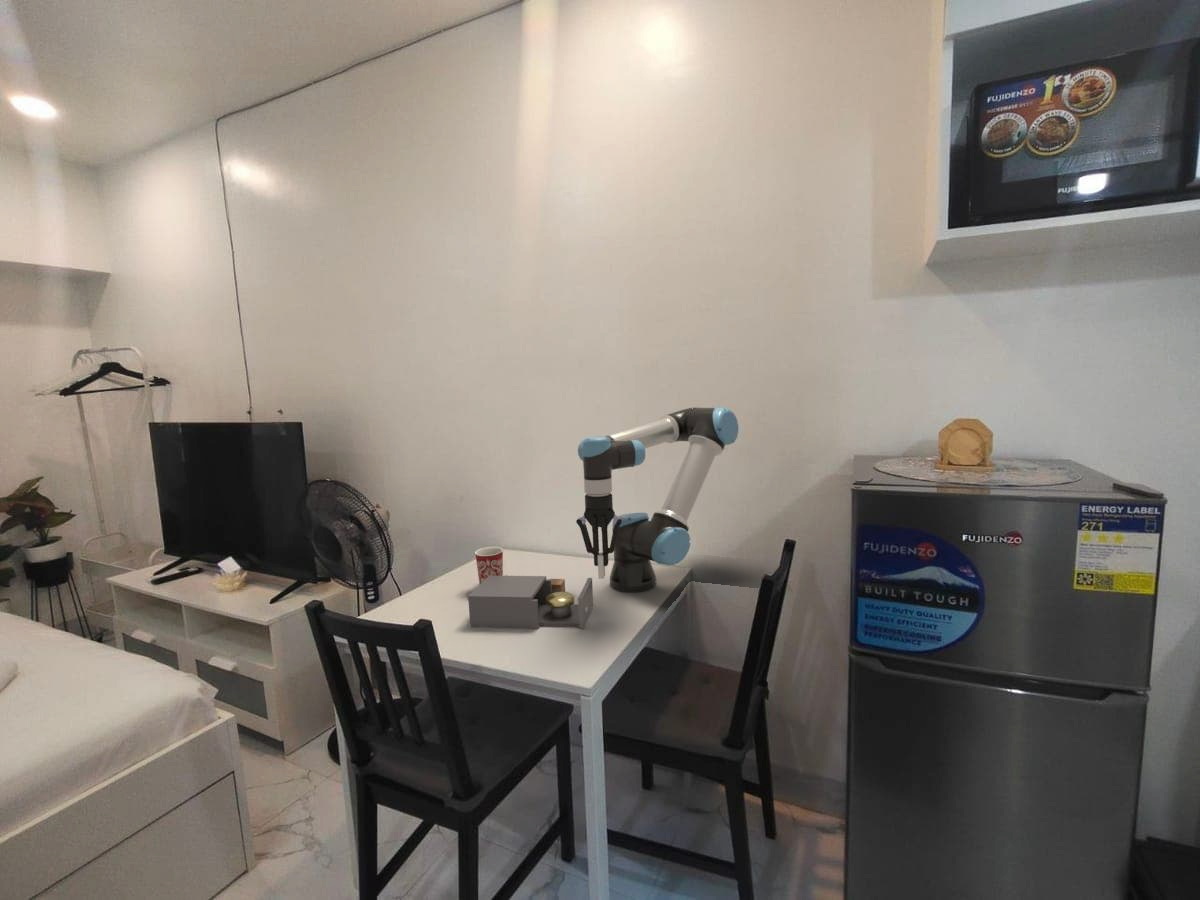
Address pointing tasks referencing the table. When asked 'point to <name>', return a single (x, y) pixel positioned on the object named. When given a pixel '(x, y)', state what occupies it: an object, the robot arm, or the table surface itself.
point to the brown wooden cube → (558, 585)
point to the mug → (489, 562)
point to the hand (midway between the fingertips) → (601, 576)
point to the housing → (508, 602)
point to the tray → (558, 621)
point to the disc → (560, 600)
